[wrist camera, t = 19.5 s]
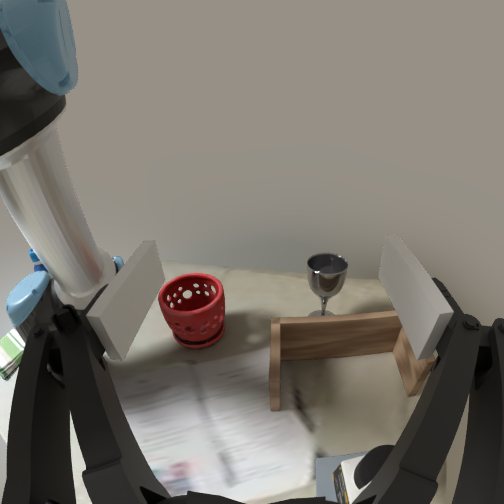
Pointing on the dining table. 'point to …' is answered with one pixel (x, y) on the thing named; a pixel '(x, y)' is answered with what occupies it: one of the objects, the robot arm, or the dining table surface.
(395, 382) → the dining table surface
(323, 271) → the wine glass
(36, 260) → the beverage bottle
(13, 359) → the dish towel
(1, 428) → the dining table surface
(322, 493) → the grey pad
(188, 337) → the plant pot
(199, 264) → the dining table surface
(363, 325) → the walnut bay
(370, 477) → the medicine bottle
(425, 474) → the robot arm
